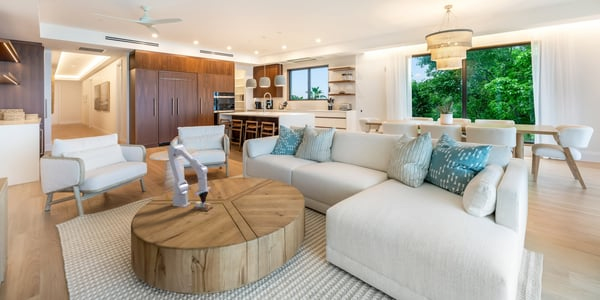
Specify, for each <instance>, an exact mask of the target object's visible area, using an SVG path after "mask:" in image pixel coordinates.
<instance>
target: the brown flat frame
mask: <svg viewBox="0 0 600 300" xmlns="http://www.w3.org/2000/svg"><path fill="white" fill-rule="evenodd" d="M213 209H214V205H211V207H210V208H209V209H207V208H201V207H196V205H195V206H193V210H197V211H203V212H209V211H211V210H213Z"/></svg>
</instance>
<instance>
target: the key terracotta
mask: <svg viewBox="0 0 600 300" xmlns="http://www.w3.org/2000/svg"><path fill="white" fill-rule="evenodd" d="M211 206H212V205H211V202H206V204H205V208H207V209H209V208H210V207H211Z"/></svg>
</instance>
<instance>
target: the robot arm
mask: <svg viewBox="0 0 600 300" xmlns="http://www.w3.org/2000/svg"><path fill="white" fill-rule="evenodd" d="M166 152H167V154H168V156H167V157H168V160H169V165H170V167H171V170H172V174H173V178H174V180H175V181H174V182H173V185H172V186H173V195H172V201H173V204H172V206H174V207H178V208H179V207H180V208H184V207H187V206H188V205H191V202H188V201H189V200H188V191H189V189H190V185H189V183H188V181H187V180H186V179H184V176H183V172H182V170H181V169H182V168H181V166H180V163H179V160H178V158H179V156H182V157H183V158H184V159H185V160H186V161H187V162H188V163H189V164H188V165H189V166H190V167H191V168H192V169H193V170H194V171H195V175H197V176H196V177H197V185H198V186H197V187H198V190H196V192H194V196H196V197H198V196H199V199H200V202H202V203H205V202H206V200H207V198H208V197H207V196H208V194H209V191H210V190H211V186H208V176H207V174H208V173H209V169H208V167H207V166H206V165H204V164H202V163H201V162H200V161H199V160H198V159H197V158H194V157H192V155H191V154H190V153H189V152H188V151H187V150H186V146H184V144H183V143H178V144H173V145H169V146H168V147H167V148H166Z"/></svg>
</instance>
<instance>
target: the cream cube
mask: <svg viewBox="0 0 600 300" xmlns="http://www.w3.org/2000/svg"><path fill="white" fill-rule="evenodd" d="M200 203H202V202H201V201H200V200H199V201H196V202H195V206H196V207H200Z"/></svg>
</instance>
